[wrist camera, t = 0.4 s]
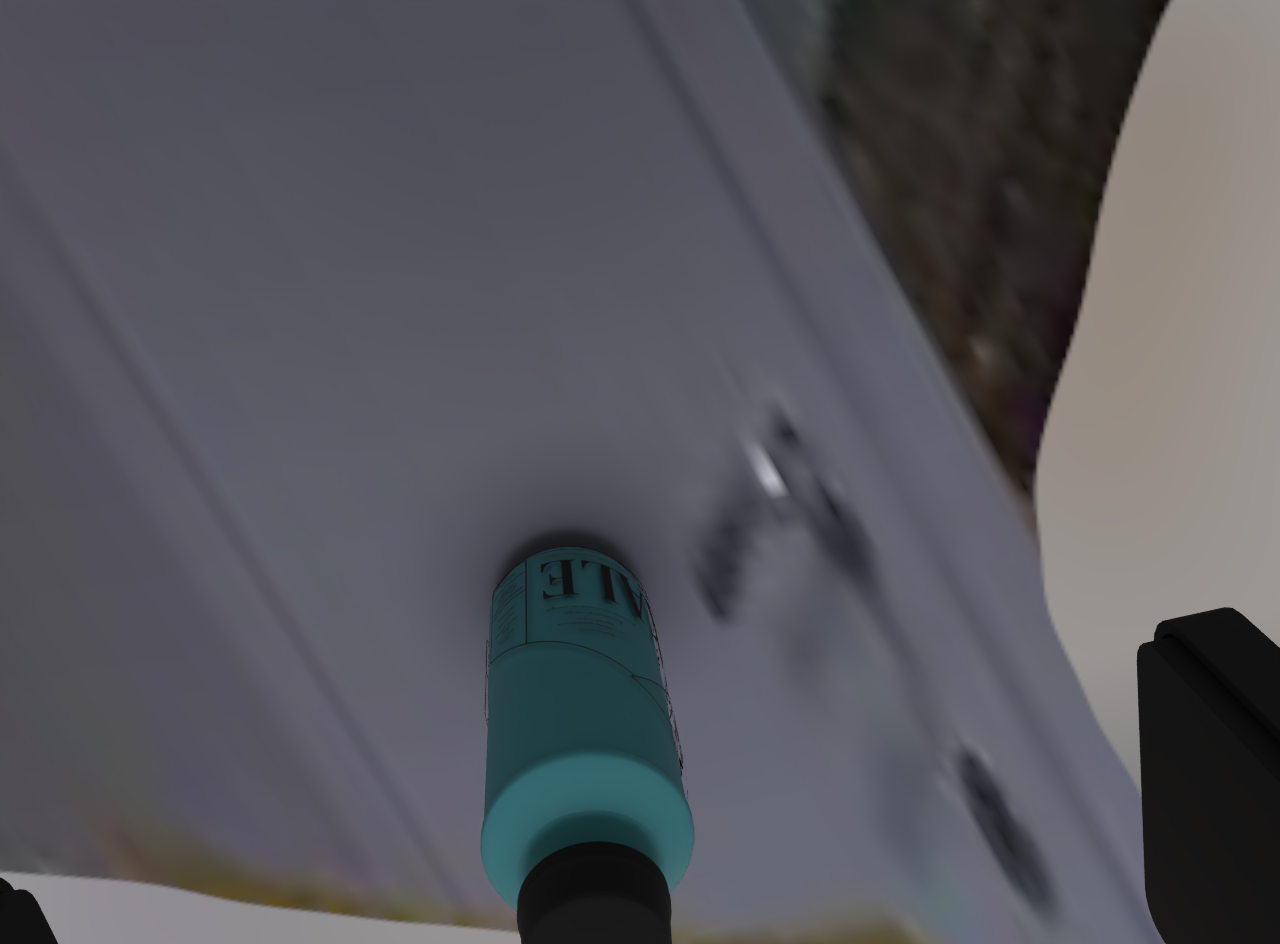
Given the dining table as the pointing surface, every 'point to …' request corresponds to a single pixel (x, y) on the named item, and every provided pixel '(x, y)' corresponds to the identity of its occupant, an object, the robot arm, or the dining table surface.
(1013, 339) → the dining table surface
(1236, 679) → the robot arm
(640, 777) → the beverage bottle
